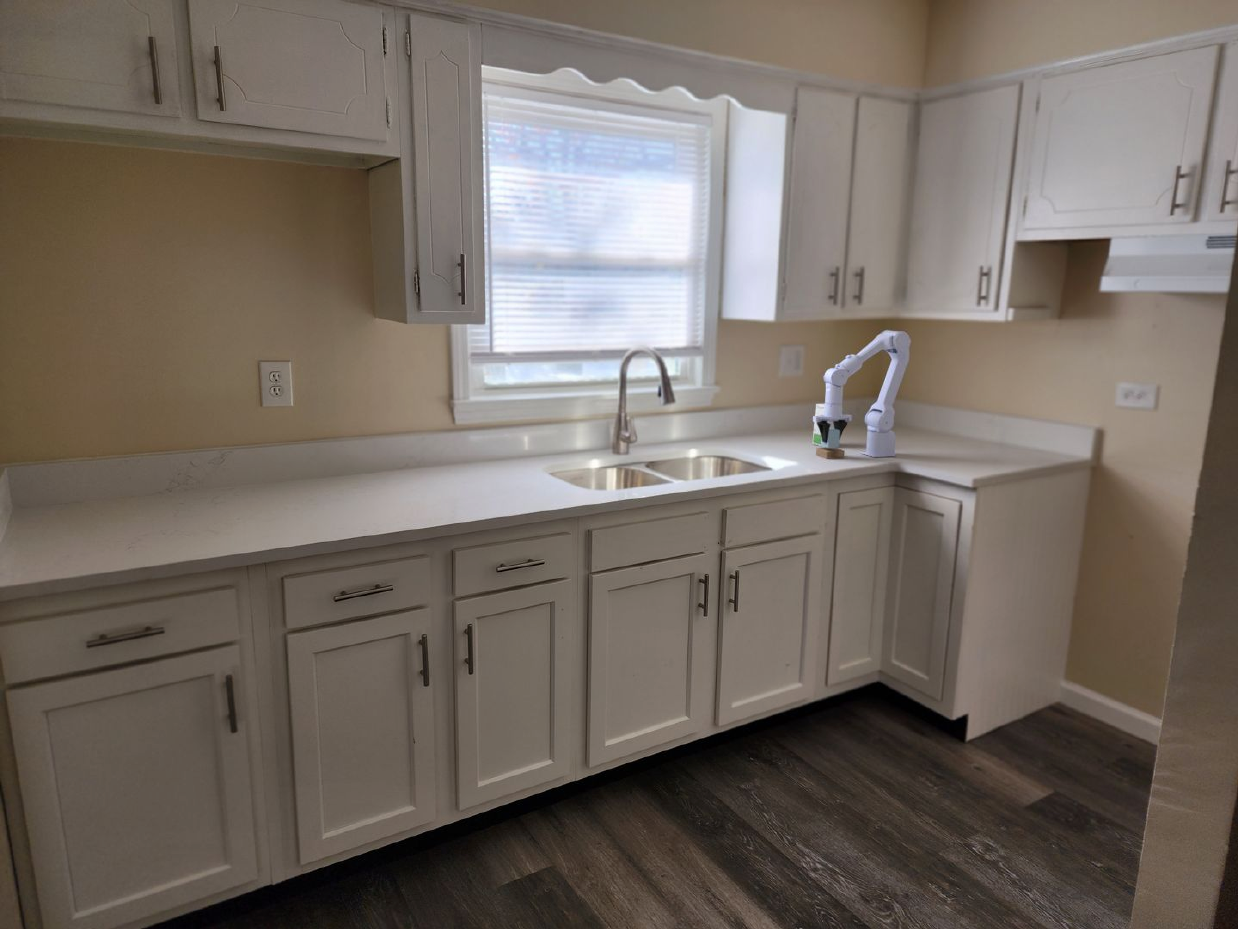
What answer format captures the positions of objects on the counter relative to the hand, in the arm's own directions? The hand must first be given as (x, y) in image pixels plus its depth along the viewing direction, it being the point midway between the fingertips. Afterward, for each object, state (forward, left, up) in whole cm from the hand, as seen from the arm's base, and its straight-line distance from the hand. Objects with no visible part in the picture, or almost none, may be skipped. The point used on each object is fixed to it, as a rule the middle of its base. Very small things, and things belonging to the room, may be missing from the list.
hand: (830, 441), depth 285 cm
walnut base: (0, -1, -6) cm, 6 cm away
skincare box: (-11, -20, -6) cm, 23 cm away
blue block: (0, 0, -2) cm, 2 cm away
